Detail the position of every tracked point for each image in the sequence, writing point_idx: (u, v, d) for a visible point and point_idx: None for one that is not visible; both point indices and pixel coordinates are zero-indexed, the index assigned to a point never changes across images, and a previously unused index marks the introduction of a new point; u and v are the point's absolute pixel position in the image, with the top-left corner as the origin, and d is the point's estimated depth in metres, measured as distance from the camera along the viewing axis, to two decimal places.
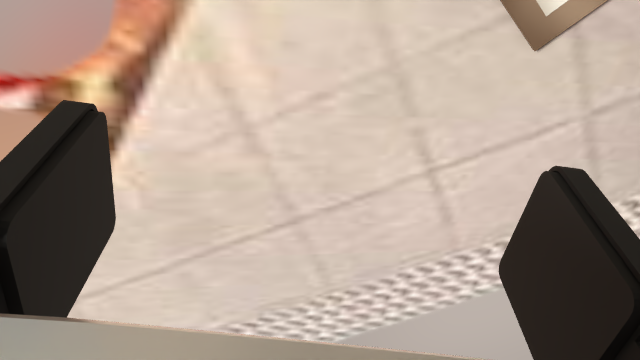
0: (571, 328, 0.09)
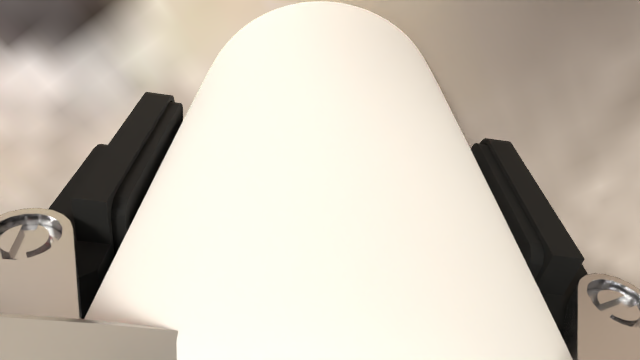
0: None
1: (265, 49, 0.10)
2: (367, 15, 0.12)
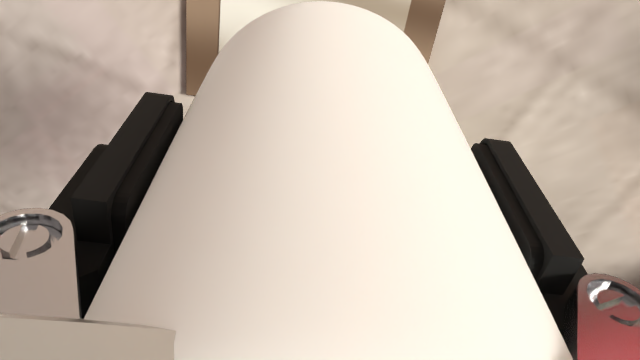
0: None
1: (265, 49, 0.10)
2: (367, 15, 0.12)
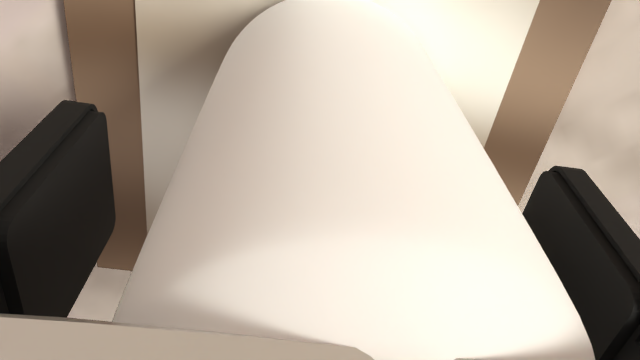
0: None
1: (281, 31, 0.11)
2: (369, 4, 0.13)
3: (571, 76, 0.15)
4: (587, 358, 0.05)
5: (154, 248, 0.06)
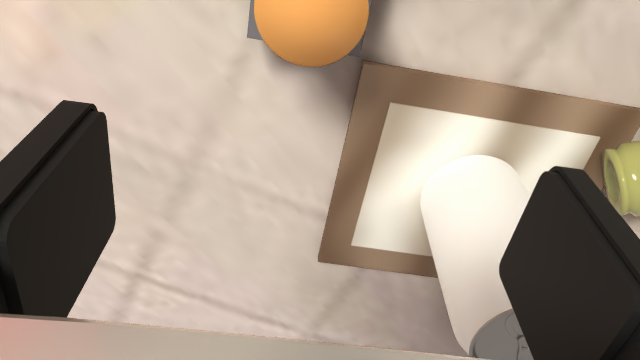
0: (571, 328, 0.09)
1: None
2: (427, 187, 0.31)
3: (481, 86, 0.29)
4: (501, 286, 0.22)
5: None
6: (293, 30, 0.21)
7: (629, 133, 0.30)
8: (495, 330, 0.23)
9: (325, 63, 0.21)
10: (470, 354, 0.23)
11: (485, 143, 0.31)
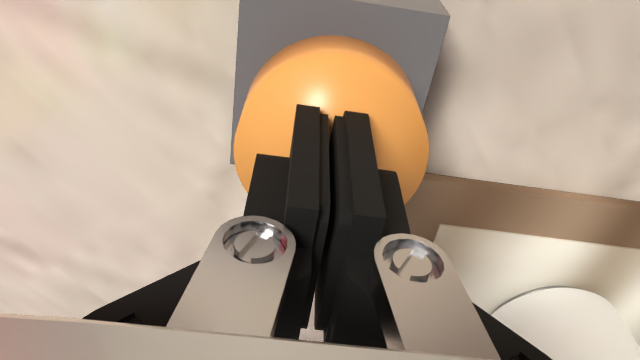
0: (325, 252, 0.10)
1: None
2: None
3: (572, 202, 0.20)
4: None
5: None
6: None
7: None
8: None
9: None
10: None
11: (571, 271, 0.22)
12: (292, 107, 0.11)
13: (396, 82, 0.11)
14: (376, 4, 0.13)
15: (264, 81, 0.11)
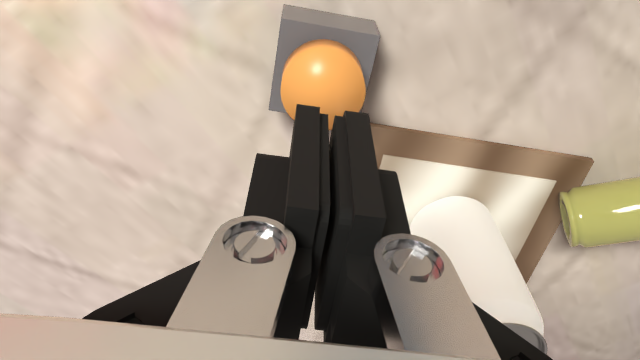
0: (325, 252, 0.10)
1: None
2: (414, 223, 0.37)
3: (458, 141, 0.35)
4: None
5: None
6: (309, 105, 0.28)
7: (580, 177, 0.37)
8: None
9: None
10: None
11: (462, 186, 0.37)
12: (307, 68, 0.27)
13: (351, 59, 0.27)
14: (345, 29, 0.28)
15: (295, 58, 0.27)
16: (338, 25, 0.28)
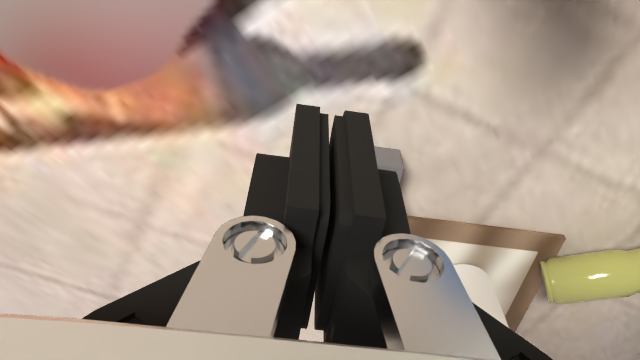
0: (325, 252, 0.10)
1: None
2: None
3: (461, 226, 0.47)
4: None
5: None
6: None
7: (555, 249, 0.48)
8: None
9: None
10: None
11: (466, 256, 0.49)
12: None
13: None
14: (379, 165, 0.40)
15: None
16: None
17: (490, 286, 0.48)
